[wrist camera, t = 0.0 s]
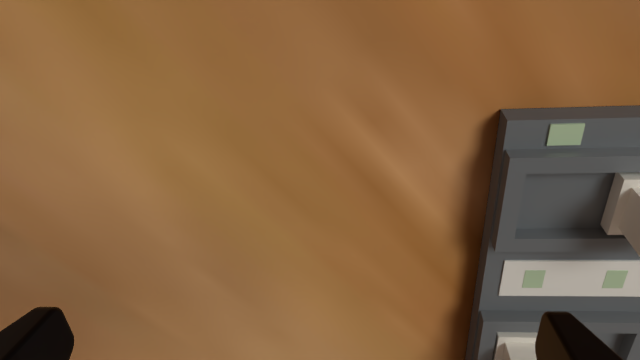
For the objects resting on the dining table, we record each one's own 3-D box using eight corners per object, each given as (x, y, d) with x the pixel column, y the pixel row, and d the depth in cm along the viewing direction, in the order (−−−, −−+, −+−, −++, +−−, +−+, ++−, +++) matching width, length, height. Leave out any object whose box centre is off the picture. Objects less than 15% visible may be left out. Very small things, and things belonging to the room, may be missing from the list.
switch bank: (611, 372, 31) (625, 401, 29) (463, 369, 32) (469, 397, 30) (714, 103, 21) (745, 123, 20) (500, 109, 22) (512, 129, 21)
